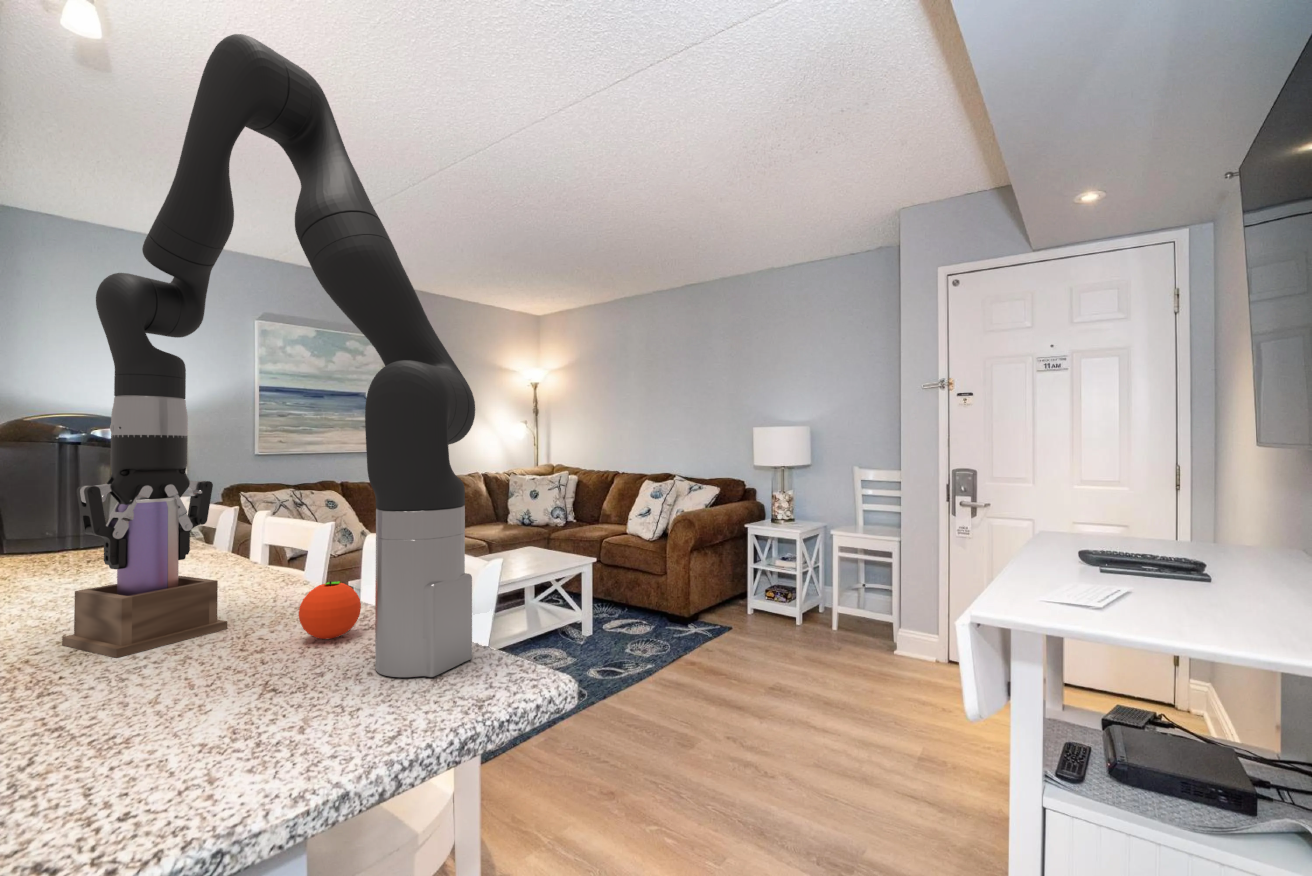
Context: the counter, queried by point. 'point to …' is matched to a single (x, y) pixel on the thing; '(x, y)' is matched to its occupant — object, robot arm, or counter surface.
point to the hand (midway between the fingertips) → (148, 563)
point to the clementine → (329, 610)
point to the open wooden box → (143, 617)
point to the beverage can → (150, 547)
